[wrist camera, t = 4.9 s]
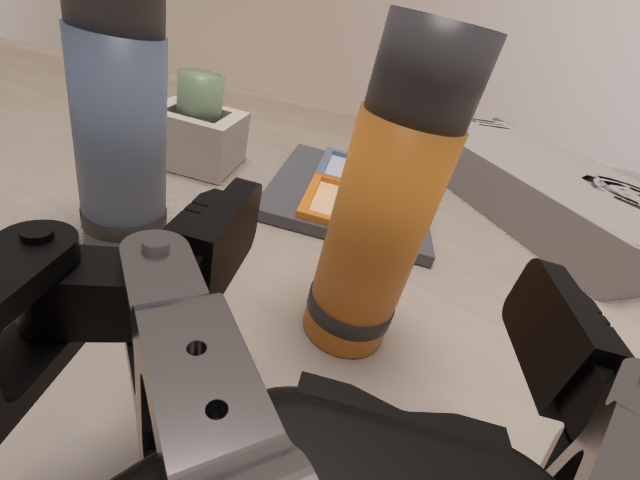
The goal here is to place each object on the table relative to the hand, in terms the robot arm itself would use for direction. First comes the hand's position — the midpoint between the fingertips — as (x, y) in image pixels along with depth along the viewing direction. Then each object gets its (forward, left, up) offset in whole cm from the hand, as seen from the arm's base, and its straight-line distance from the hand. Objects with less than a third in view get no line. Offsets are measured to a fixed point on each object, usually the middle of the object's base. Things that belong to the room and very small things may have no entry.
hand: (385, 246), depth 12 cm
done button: (-13, +18, -5) cm, 23 cm away
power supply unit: (+17, +32, -8) cm, 37 cm away
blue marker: (-12, +6, -7) cm, 15 cm away
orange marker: (0, +4, -7) cm, 8 cm away
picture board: (-1, +19, -7) cm, 20 cm away
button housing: (-13, +18, -7) cm, 24 cm away
